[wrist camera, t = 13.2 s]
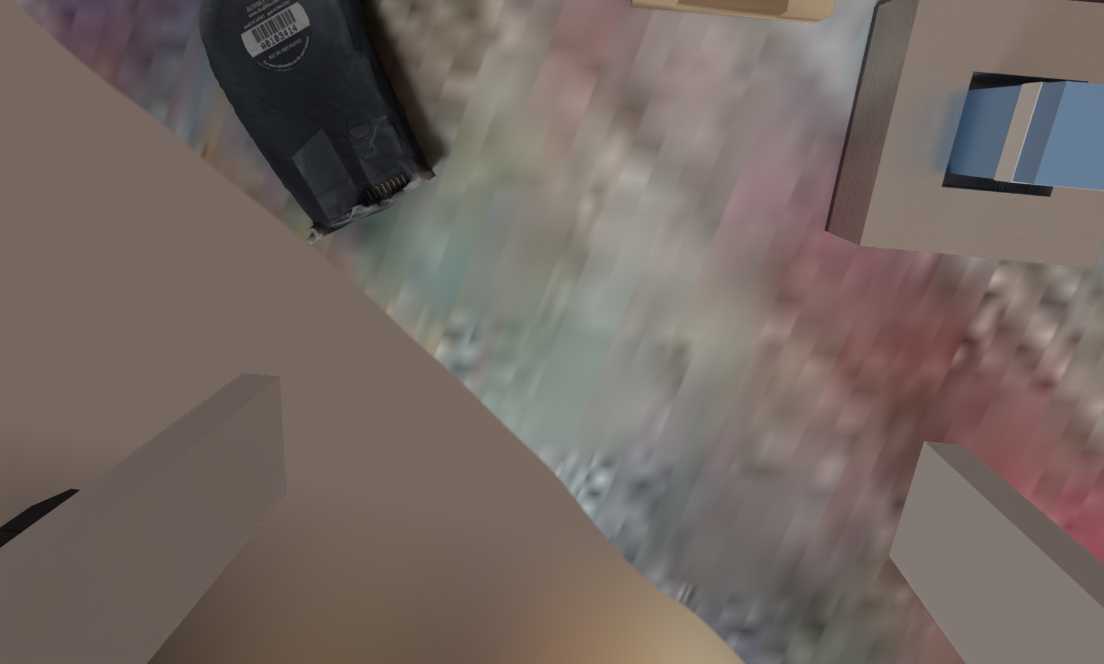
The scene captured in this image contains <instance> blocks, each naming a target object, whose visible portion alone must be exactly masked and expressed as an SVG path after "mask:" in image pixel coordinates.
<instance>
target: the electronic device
mask: <svg viewBox="0 0 1104 664" xmlns="http://www.w3.org/2000/svg"><path fill="white" fill-rule="evenodd" d="M199 29H200V35H201V38H202V42H203V44H204V46H205V49H206V52H207V56H208V59H209V62H210V66H211V68H212V71H213V73H214V76H215V77H216V79H217V80H218V82H219V85H220V87H221V88H222V89H223V90H224V92H225V94H226V96H227V99H228V100H229V102H230V103H231V104H232V106H233V107H234V110H235V113H236V115H237V116H238V118H239V119H240V121H241V122H242V124H243V125H244V127H245V128H246V130H247V131H248V133H249V135H250V136H251V137H252V139H253V140H254V142H255V144H256V145H257V147H258V148H259V150H260V151H261V153H262V154H263V156H264V157H265V158H266V160H267V161H268V163H269V164H270V166H271V168H272V169H273V170H274V172H275V173H276V175H277V176H278V177H279V179H280V180H281V181H282V183H283V184H284V186H285V188H287V189H288V190H289V191H290V192H291V194H292V195H293V196H294V198H295V199H296V201H297V202H298V203H299V205H300V206H301V207H302V208H303V210H304V211H305V212H306V214H307V215H308V216H309V217H310V218H311V219H312V221H313V226H312V227H311V228H310V230H311V231H312V233H311V235H310V237H309V238H308V239H307V241H308V243H309V244H312V243H313V242H315V241H317V240H318V239H320V238H322V237H324V236H326V235H328V234H330V233H332V232H334V231H336V230H338V229H340V228H342V227H344V226H346V225H347V224H349V223H351V222H353V221H354V220H357V219H361V218H364V217H367V216H369V215H372V214H375V213H378V212H381V211H383V210H385V209H388V208H390V207H391V206H392V205H393V204H394V203H395V202H396V201H397V200H398V199H399V198H401V197H403V196H404V195H406V194H407V193H409V192H410V191H412V190H413V189H415V188H416V187H418V186H419V185H421V183H422V182H423V181H424V180H430V179H431V178H433V177H434V176H436V175H435V174H434V172H433V170H432V168H430V167H429V166H428V165H427V163H426V160H425V158H424V155H423V153H422V152H421V150H420V147H419V145H418V144H417V141H416V139H415V136H414V134H413V132H412V130H411V128H410V126H409V124H408V122H407V119H406V117H405V113H404V110H403V108H402V106H401V105H400V103H399V101H398V99H397V97H396V94H395V92H394V90H393V87H392V85H391V83H390V81H389V79H388V77H387V74H386V72H385V70H384V67H383V65H382V63H381V61H380V59H379V56H378V54H377V52H376V50H375V47H374V45H373V43H372V41H371V39H370V36H369V34H368V32H367V30H366V24H365V18H364V15H363V10H362V6H361V3H360V0H201V6H200V14H199Z"/></svg>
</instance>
